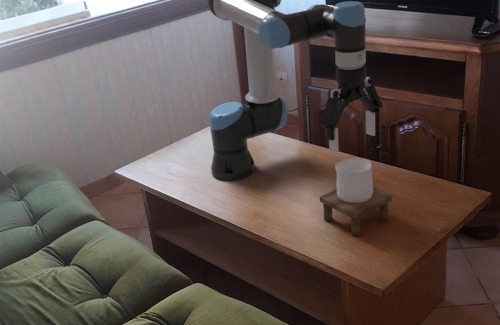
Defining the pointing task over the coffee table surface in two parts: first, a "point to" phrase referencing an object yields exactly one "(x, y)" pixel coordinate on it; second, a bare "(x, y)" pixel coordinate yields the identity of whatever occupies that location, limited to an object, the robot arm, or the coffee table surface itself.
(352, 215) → the footstool
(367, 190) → the cup
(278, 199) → the coffee table surface
